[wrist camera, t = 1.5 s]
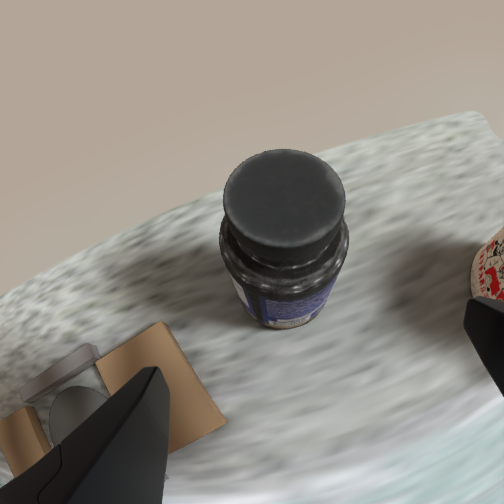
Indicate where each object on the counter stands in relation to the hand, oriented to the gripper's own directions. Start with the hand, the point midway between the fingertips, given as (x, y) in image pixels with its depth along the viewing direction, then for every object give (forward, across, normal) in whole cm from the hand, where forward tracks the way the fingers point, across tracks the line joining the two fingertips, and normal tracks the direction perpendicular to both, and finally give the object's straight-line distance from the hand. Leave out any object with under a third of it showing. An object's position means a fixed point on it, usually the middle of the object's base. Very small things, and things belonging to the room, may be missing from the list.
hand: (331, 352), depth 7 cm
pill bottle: (+13, 0, +5) cm, 14 cm away
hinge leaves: (+6, +16, +11) cm, 21 cm away
